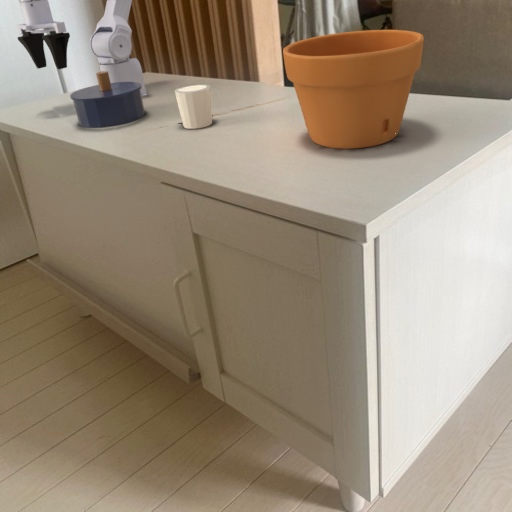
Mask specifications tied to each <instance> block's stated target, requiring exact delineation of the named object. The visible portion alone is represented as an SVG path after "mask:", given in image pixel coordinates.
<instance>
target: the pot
mask: <svg viewBox="0 0 512 512" xmlns="http://www.w3.org/2000/svg"><path fill="white" fill-rule="evenodd" d="M72 102H73V105H74V109H75V113H76V116H77V120H78V124H79V126H81V127H82V128H89V129H101V128H110V127H116V126H121V125H126V124H129V123H132V122H134V121H138V120H139V119H141V118H142V117H144V116H145V107H144V101H143V96H141V91H140V90H138V91H137V92H134V93H132V94H128V95H125V96H121V97H117V98H111V99H105V100H97V101H75V100H72Z"/></svg>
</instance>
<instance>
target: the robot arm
mask: <svg viewBox="0 0 512 512" xmlns="http://www.w3.org/2000/svg"><path fill="white" fill-rule="evenodd" d="M18 3H19V6H20V10H21V13H22V17H23V20H24V23H20V24H16V27H17V31H18V34H19V35H21V36H17V41H18V42H19V43H20V44H21V45H22V46H23V47H24V49H25V50H26V52H27V53H28V54H29V56H30V58H31V60H32V62H33V63H34V64H35V67H36V69H43V68H46V67H47V59H46V58H47V57H46V54H45V45H44V43H45V44H46V46H47V47H48V49H49V52H50V54H51V56H52V59H53V62H54V65H55V67H56V69H57V70H63V69H66V68H68V46H69V45H68V44H69V41H70V36H71V34H70V32H67V28H66V24H65V21H54V19H53V15H52V10H51V6H50V3H49V0H18ZM132 3H133V0H106V4H105V9H104V14H103V16H101V19H100V20H99V21H98V22H97V23H96V28H95V30H94V32H93V33H92V35H90V39H89V49H90V52H91V53H92V55H94V57H96V58H97V61H98V65H99V70H100V72H102V71H108V74H109V78H110V83H115V82H137V83H140V84H141V86H142V88H141V89H140V91H141V96H142V97H143V96H147V95H148V93H147V89H146V88H147V87H146V84H145V79H144V74H143V68H142V66H141V63H140V61H139V60H138V58H137V57H133V58H130V56H131V54H132V51H133V43H132V33H133V30H132V28H131V27H130V25H129V23H128V21H129V16H130V11H131V6H132Z"/></svg>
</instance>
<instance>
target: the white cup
mask: <svg viewBox="0 0 512 512" xmlns="http://www.w3.org/2000/svg"><path fill="white" fill-rule="evenodd" d="M174 95H175V99H176V102H177V106H178V110H179V115H180V118H181V123H182V125H183V128H185V129H188V130H189V129H190V130H195V129H196V130H197V129H201V128H206V127H209V126H211V125H213V112H212V89H211V85H209V84H190V85H185V86H181V87H178V88H175V90H174Z"/></svg>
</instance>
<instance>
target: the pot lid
mask: <svg viewBox="0 0 512 512" xmlns="http://www.w3.org/2000/svg"><path fill="white" fill-rule="evenodd" d="M95 75H96V79H97V83H98V84H96V85H92V86H87V87H84V88H81V89H78V90H75V91H73V92H72V93H70V95H69V97H70V99H71V100H72V101H73V100H75V101H97V100H105V99H111V98H117V97H121V96H125V95H128V94H132V93H134V92H137V91H138V90H140V89H141V88H142V86H141V84H140V83H137V82H115V83H110V78H109V74H108V71H102V72H101V71H97V72H96V73H95Z"/></svg>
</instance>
